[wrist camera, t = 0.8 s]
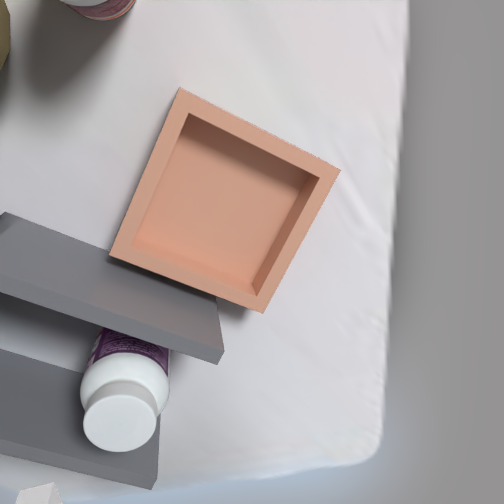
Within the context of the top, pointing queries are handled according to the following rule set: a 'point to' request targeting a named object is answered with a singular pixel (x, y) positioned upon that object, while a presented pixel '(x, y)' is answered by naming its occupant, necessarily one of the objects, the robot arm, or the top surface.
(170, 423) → the top surface
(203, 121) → the dish
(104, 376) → the pill bottle
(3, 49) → the squeeze bottle
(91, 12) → the pill bottle
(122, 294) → the bay
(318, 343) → the top surface
